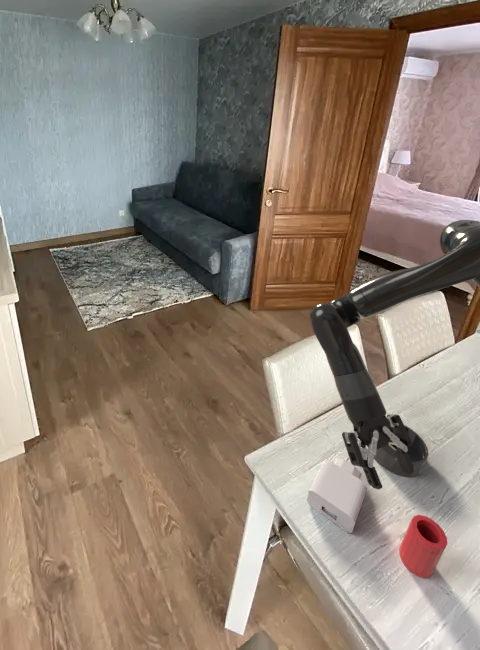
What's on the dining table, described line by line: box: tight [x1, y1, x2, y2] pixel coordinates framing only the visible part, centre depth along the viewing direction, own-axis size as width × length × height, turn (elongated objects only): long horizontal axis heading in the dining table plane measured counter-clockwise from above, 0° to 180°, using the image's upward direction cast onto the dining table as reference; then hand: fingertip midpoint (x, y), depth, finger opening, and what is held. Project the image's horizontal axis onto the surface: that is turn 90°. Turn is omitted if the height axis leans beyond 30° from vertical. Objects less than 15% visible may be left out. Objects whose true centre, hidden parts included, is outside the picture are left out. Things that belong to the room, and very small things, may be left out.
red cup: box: [398, 514, 448, 579], centre depth 64 cm, size 5×5×9 cm
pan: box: [367, 424, 430, 478], centre depth 85 cm, size 12×12×4 cm
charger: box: [306, 456, 368, 534], centre depth 76 cm, size 5×9×15 cm
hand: (393, 480), depth 68 cm, fingers open, 8 cm apart
